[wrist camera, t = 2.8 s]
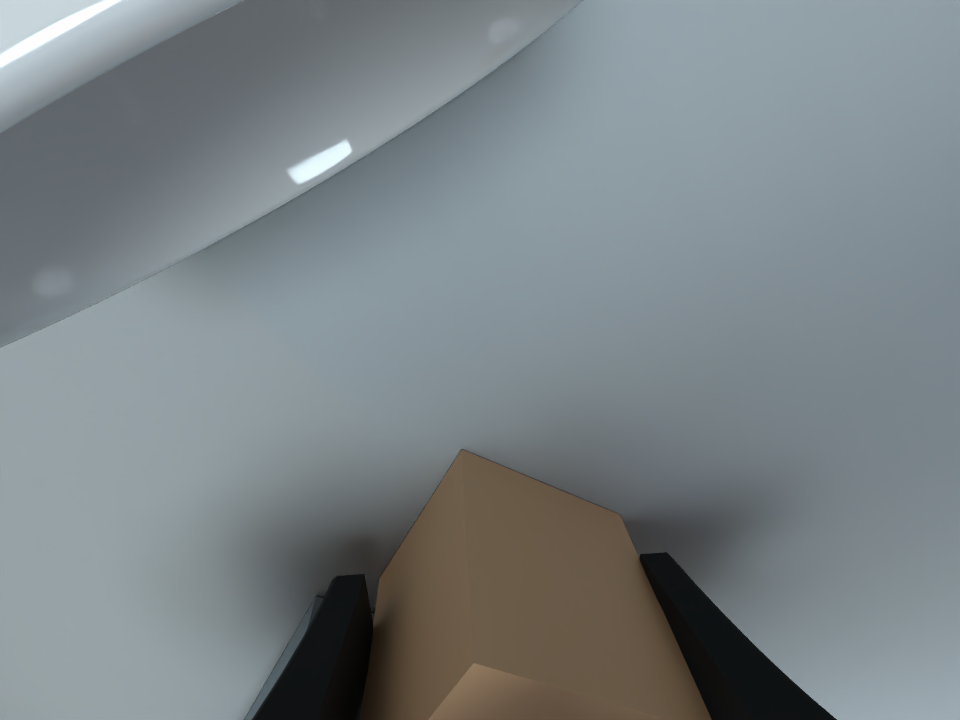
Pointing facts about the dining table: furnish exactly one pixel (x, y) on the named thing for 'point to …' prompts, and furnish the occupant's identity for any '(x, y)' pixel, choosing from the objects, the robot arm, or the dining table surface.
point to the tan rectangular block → (521, 612)
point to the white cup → (204, 121)
